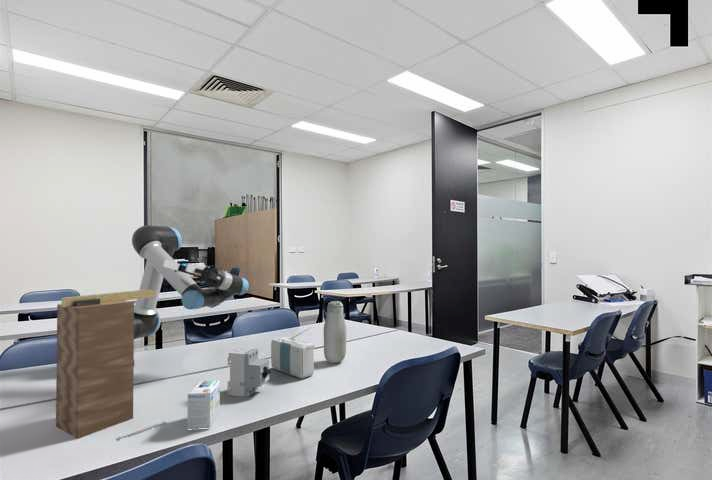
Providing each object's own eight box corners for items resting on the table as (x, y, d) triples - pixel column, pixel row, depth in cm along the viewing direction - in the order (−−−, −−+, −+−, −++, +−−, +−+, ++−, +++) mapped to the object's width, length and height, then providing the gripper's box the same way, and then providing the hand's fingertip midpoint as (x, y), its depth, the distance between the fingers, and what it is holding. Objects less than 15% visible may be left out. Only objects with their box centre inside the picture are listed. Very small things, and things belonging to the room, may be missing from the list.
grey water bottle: (333, 367, 169) (333, 303, 170) (319, 362, 177) (319, 301, 177) (350, 362, 176) (350, 301, 176) (336, 357, 183) (336, 299, 184)
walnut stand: (55, 426, 114) (57, 299, 114) (110, 408, 126) (111, 294, 127) (77, 438, 106) (79, 302, 107) (133, 418, 119) (134, 296, 120)
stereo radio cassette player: (270, 369, 166) (270, 323, 167) (285, 365, 172) (285, 320, 173) (300, 381, 152) (300, 330, 152) (316, 375, 158) (316, 327, 158)
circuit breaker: (264, 398, 135) (264, 355, 135) (227, 395, 138) (227, 352, 138) (273, 390, 142) (273, 349, 142) (238, 387, 145) (238, 347, 145)
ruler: (119, 441, 106) (119, 437, 106) (118, 440, 106) (118, 436, 106) (166, 425, 115) (166, 422, 115) (164, 424, 116) (164, 421, 116)
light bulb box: (198, 414, 121) (198, 380, 122) (220, 414, 122) (220, 379, 122) (186, 431, 111) (186, 393, 111) (210, 430, 111) (210, 392, 111)
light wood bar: (61, 306, 111) (61, 297, 111) (150, 296, 133) (150, 289, 133) (66, 307, 109) (66, 298, 109) (155, 297, 131) (155, 289, 131)
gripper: (201, 266, 166) (158, 251, 148) (242, 274, 153) (201, 259, 135) (195, 283, 164) (150, 270, 146) (236, 292, 151) (193, 279, 134)
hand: (174, 264), depth 141 cm, fingers open, 13 cm apart
